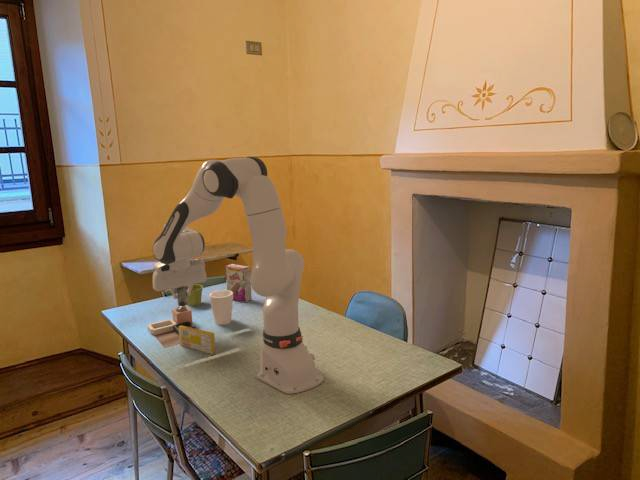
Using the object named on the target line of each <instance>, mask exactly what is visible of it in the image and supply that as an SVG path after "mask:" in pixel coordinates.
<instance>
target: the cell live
mask: <svg viewBox="0 0 640 480" xmlns="http://www.w3.org/2000/svg"><path fill="white" fill-rule="evenodd" d="M186 286H187V285H186ZM186 286H181V287H177V288H175V289H176V293H177V294H178V298H177V306H178V307H180V306H185V307H186V306H187V304H188V302H187V292H186Z"/></svg>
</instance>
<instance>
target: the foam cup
mask: <svg viewBox="0 0 640 480" xmlns="http://www.w3.org/2000/svg"><path fill="white" fill-rule="evenodd" d="M208 298H209V302H210V305H211V310H212V315H213V319H214V322H215V323H214V324H216V325H220V326H222V325H223V326H224V325H228V324H230V323H231V322H232V320H233V319H232V316H233V303H234V302H233V301H234V300H233V292H232V291H229V290H227V289H222V290H220V289H219V290H215V291H212V292H210V293H209V297H208Z"/></svg>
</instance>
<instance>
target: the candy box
mask: <svg viewBox="0 0 640 480" xmlns="http://www.w3.org/2000/svg"><path fill="white" fill-rule="evenodd" d="M178 330H179V343H180V344H179V345H180V346H182V347H186V348H189V349H193V350H195V351H199V352H203V353H207V354H210V355H209V356H210V357H214V356H216V339H215V332H211V331H206V330H203V329H199V328H198V329H195V328H190V327H186V326H182V325H181V326H179V327H178Z"/></svg>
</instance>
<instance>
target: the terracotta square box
mask: <svg viewBox="0 0 640 480" xmlns="http://www.w3.org/2000/svg"><path fill="white" fill-rule="evenodd" d="M185 307H186V311H183V312H179V313H178V312H177V308H173V309H171V314H172V320H174V321H175V322H176V323H177V324H179V323H184V322H188V321H190V322H191V323H192V324H193V325H194V323H193V314H192V309H191V308H189V306H187V305H186V306H185Z"/></svg>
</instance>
